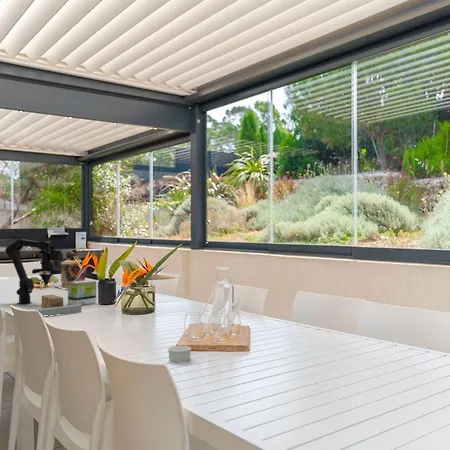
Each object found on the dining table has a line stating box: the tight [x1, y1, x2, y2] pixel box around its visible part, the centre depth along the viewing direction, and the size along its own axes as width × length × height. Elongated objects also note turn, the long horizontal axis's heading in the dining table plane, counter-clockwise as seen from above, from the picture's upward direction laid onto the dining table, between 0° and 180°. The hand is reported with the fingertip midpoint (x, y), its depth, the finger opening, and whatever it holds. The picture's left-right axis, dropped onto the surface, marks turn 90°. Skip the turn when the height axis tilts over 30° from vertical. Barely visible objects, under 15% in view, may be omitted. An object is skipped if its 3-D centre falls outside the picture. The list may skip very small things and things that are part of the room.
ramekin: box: [167, 345, 192, 363], centre depth 184 cm, size 9×9×4 cm
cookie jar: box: [53, 247, 87, 291], centre depth 391 cm, size 25×25×32 cm
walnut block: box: [41, 294, 64, 309], centre depth 282 cm, size 16×7×9 cm, turn 39°
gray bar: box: [37, 304, 82, 316], centre depth 274 cm, size 24×4×4 cm, turn 134°
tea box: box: [67, 279, 97, 306], centre depth 310 cm, size 15×10×15 cm, turn 143°
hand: (46, 284), depth 308 cm, fingers closed
